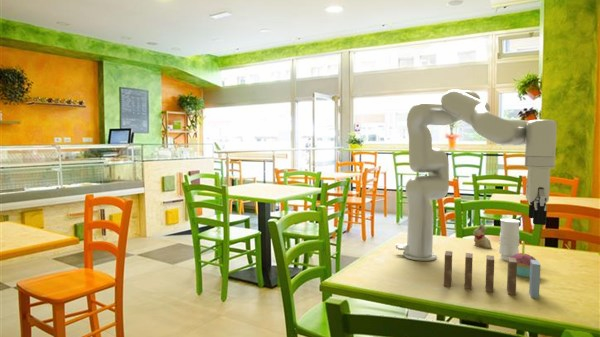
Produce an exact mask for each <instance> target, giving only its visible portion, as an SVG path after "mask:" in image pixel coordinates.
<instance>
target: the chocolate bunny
mask: <svg viewBox="0 0 600 337" xmlns="http://www.w3.org/2000/svg"><path fill="white" fill-rule="evenodd" d="M487 229H488V228H487V227H486V226H485V225H484V224H483V223H482V224H480V225H479V226H478V227H477V228H475V229H474V230H473V232H472V234H473V236H474V239H473V242H474V246H475V247H477V248H481V249H486V250H487V249H488V250H490V249H492V244H491V241H490V239H489V238H488V237H486V236H485V235H486V231H487Z"/></svg>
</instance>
